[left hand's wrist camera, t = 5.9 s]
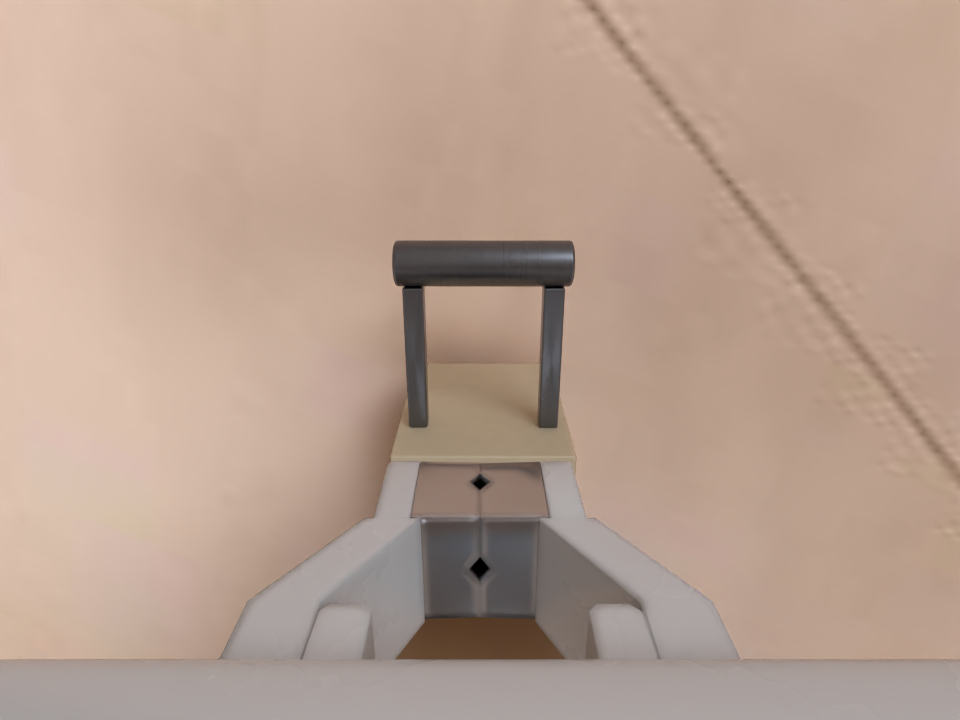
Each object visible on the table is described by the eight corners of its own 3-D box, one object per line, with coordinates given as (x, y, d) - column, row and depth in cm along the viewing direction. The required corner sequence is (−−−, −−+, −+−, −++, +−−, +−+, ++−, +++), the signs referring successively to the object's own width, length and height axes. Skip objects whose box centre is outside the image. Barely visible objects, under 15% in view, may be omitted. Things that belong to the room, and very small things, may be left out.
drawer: (409, 213, 22) (377, 256, 16) (557, 213, 22) (590, 256, 15) (428, 669, 31) (413, 825, 24) (536, 669, 31) (551, 825, 24)
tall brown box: (405, 417, 26) (370, 556, 18) (560, 417, 26) (595, 557, 18) (420, 710, 33) (399, 910, 25) (544, 710, 33) (564, 911, 25)
